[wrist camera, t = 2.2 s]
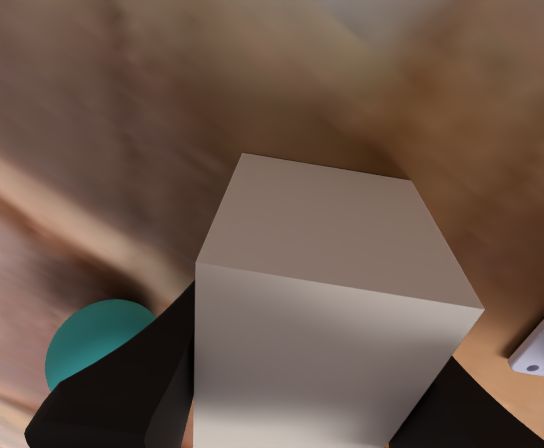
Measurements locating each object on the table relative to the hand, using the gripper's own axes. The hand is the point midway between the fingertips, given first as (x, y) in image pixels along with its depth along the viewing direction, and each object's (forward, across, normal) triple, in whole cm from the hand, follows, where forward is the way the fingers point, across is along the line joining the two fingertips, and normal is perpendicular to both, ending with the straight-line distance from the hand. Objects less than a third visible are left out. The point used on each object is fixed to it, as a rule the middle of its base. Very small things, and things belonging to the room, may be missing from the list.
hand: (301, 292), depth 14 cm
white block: (+2, 0, 0) cm, 2 cm away
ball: (-1, +8, +5) cm, 9 cm away
